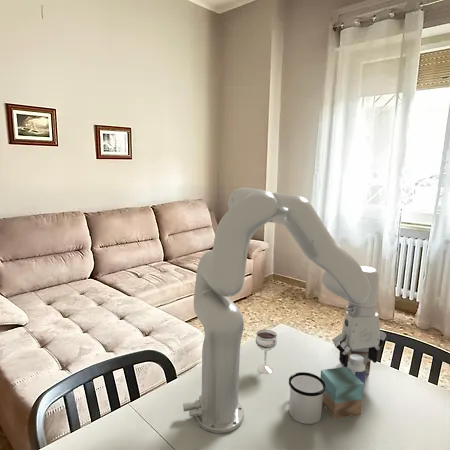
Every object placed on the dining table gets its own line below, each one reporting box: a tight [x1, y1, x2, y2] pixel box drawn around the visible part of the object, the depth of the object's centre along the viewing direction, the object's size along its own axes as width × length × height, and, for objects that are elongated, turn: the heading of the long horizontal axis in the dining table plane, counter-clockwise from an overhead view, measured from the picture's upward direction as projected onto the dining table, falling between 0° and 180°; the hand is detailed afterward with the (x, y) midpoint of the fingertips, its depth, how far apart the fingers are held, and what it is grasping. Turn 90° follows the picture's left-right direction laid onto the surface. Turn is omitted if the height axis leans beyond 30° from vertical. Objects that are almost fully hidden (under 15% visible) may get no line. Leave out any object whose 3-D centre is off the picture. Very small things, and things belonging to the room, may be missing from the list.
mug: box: [288, 371, 326, 425], centre depth 93 cm, size 12×10×9 cm
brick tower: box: [319, 366, 365, 419], centre depth 95 cm, size 8×8×9 cm
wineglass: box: [255, 329, 278, 374], centre depth 112 cm, size 7×7×12 cm
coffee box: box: [347, 348, 372, 375], centre depth 115 cm, size 9×6×16 cm
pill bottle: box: [347, 354, 366, 384], centre depth 105 cm, size 5×5×9 cm
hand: (357, 362), depth 105 cm, fingers open, 9 cm apart
